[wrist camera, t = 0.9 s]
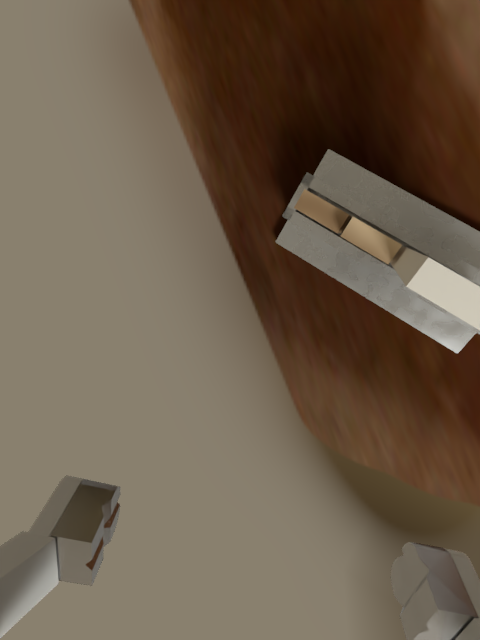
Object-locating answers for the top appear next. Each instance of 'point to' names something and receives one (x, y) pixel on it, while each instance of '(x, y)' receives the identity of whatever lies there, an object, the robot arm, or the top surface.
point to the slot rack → (398, 224)
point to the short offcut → (322, 212)
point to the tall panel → (439, 285)
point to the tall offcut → (371, 240)
